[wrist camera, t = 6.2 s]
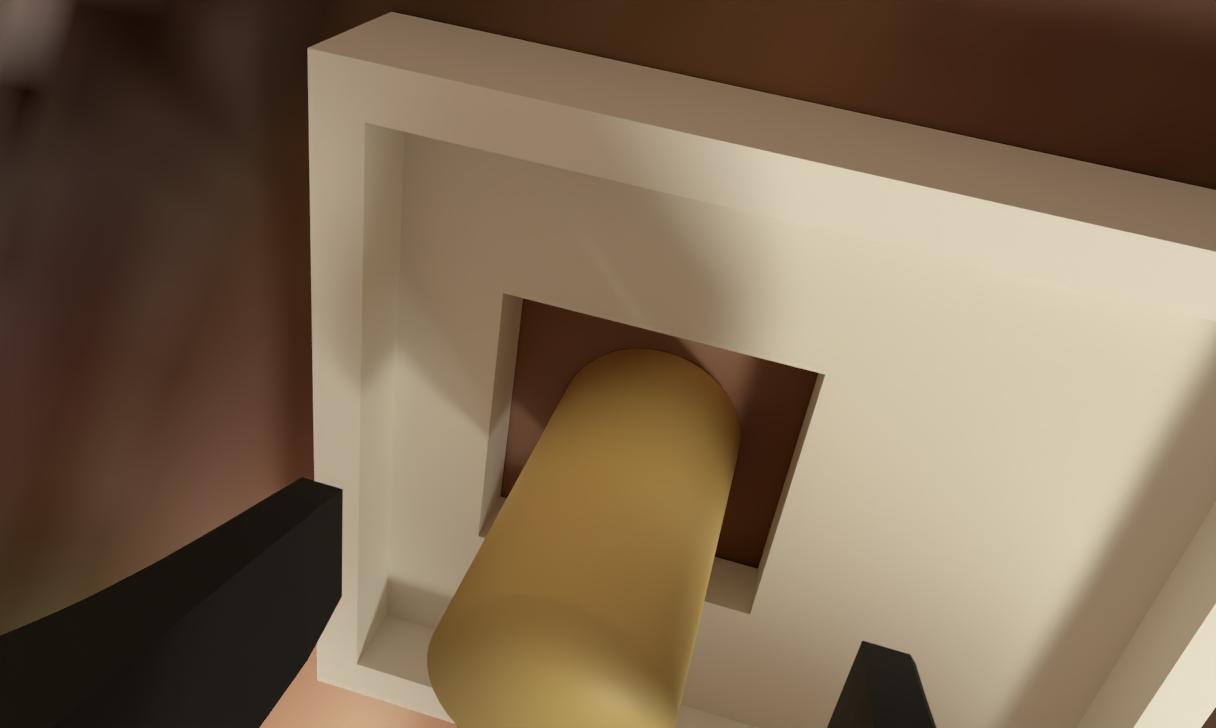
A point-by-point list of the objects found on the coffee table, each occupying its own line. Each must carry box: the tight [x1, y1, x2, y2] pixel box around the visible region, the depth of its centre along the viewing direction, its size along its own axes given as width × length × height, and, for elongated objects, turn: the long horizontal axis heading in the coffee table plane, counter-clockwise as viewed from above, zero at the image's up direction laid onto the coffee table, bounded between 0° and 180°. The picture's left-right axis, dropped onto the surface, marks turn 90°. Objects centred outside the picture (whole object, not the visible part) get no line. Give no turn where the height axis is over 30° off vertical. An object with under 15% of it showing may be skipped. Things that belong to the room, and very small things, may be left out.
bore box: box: [307, 12, 1216, 728], centre depth 16 cm, size 14×12×2 cm
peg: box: [427, 349, 741, 728], centre depth 15 cm, size 3×3×6 cm
